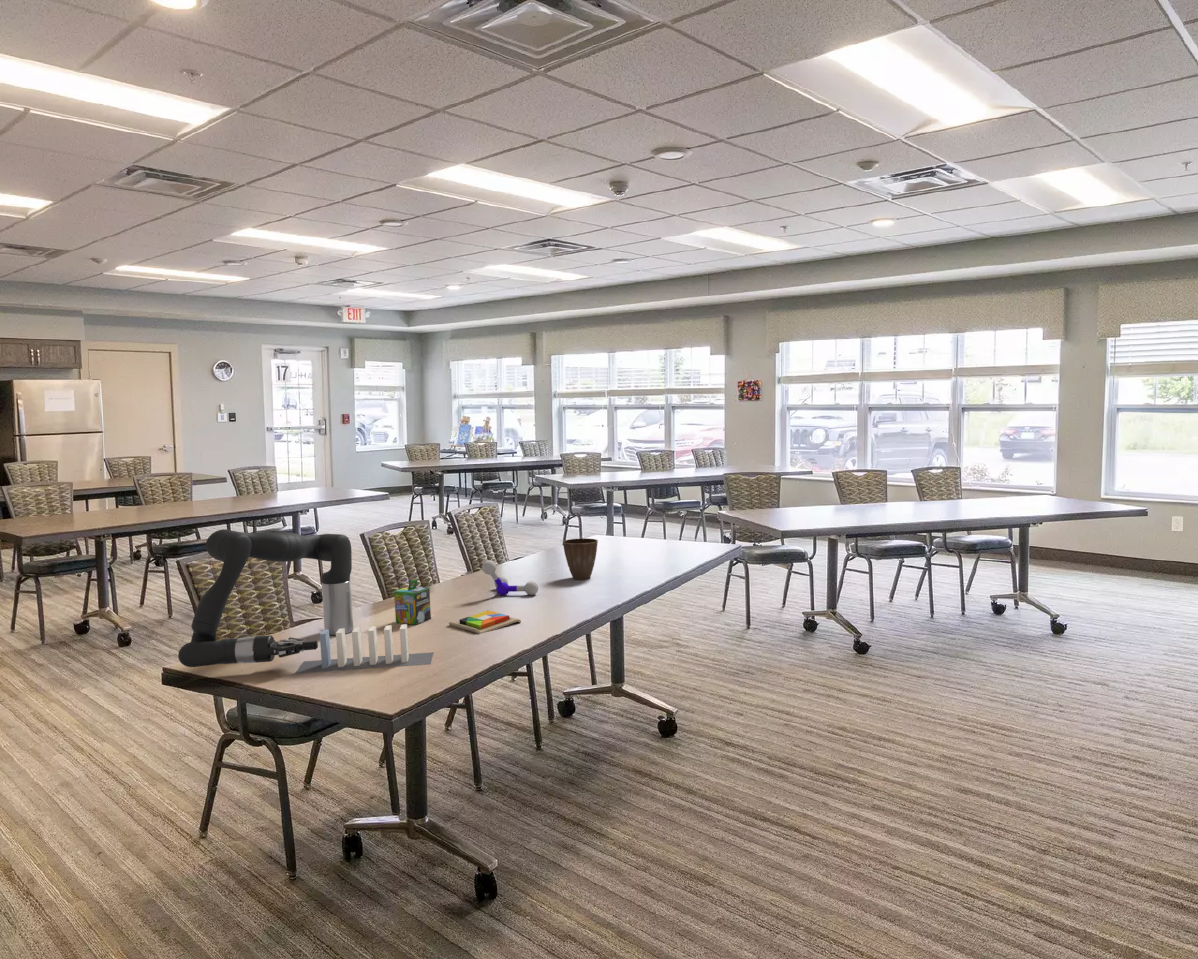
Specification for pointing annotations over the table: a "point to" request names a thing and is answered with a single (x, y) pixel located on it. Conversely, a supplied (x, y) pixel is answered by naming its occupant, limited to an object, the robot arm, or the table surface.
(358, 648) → the tile
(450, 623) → the wooden puzzle
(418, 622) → the chalk box
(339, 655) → the tile
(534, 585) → the molecular model
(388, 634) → the tile
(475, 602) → the table surface
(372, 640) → the tile
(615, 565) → the table surface
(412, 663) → the runner
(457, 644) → the table surface
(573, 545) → the plant pot
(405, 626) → the tile
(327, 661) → the tile
